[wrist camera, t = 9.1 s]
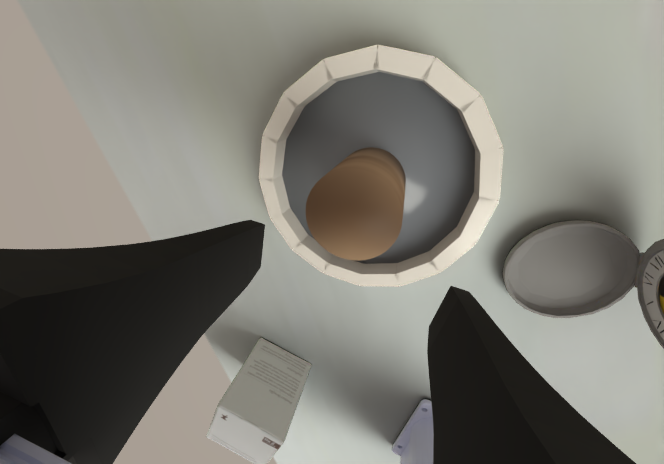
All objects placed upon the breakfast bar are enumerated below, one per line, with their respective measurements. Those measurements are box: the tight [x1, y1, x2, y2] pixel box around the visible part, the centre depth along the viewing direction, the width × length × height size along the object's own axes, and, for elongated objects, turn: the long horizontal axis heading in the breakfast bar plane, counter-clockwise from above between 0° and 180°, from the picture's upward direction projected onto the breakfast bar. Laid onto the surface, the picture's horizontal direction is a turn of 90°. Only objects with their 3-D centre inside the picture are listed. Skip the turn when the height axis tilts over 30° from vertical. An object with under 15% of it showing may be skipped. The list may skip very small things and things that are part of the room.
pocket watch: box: [503, 220, 664, 348], centre depth 12 cm, size 8×8×10 cm
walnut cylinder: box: [305, 147, 406, 260], centre depth 15 cm, size 4×4×6 cm
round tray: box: [259, 45, 503, 287], centre depth 17 cm, size 14×14×2 cm
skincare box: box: [206, 338, 311, 464], centre depth 26 cm, size 6×6×7 cm
